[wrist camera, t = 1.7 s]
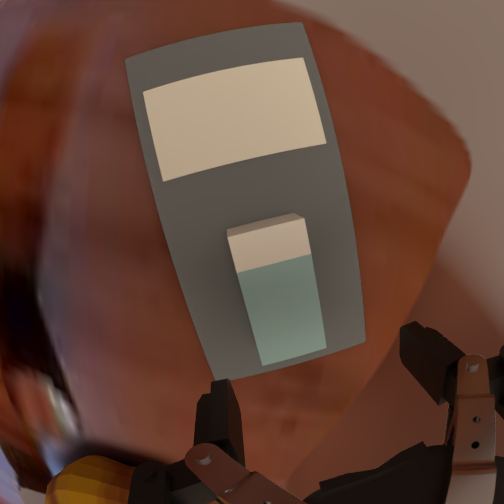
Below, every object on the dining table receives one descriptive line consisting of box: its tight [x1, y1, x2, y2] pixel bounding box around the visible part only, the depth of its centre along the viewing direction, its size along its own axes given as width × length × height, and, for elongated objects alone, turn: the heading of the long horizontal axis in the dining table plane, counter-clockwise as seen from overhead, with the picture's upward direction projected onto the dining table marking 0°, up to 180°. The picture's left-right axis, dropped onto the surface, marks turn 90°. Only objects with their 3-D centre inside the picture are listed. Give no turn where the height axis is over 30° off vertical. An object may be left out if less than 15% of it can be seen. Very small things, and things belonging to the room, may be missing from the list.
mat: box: [125, 22, 366, 381], centre depth 22 cm, size 14×28×1 cm, turn 13°
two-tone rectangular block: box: [227, 213, 327, 366], centre depth 22 cm, size 5×10×3 cm, turn 13°
